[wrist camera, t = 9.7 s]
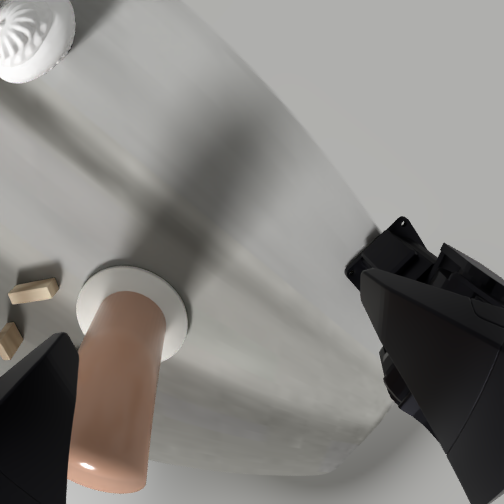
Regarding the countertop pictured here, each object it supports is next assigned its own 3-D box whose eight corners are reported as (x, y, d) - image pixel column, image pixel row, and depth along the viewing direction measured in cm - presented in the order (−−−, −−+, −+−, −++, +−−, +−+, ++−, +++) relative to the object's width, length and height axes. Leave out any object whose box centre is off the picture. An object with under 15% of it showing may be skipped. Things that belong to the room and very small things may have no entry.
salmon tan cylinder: (180, 321, 24) (168, 477, 12) (140, 359, 25) (114, 500, 13) (122, 276, 22) (59, 424, 10) (86, 321, 23) (27, 456, 11)
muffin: (6, 70, 15) (-55, 64, 8) (48, -4, 13) (-1, -33, 7) (63, 99, 17) (5, 96, 10) (110, 19, 15) (70, -16, 9)
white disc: (211, 316, 24) (212, 321, 24) (145, 375, 26) (144, 380, 26) (118, 241, 21) (115, 244, 21) (61, 316, 23) (58, 320, 22)
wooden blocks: (54, 277, 22) (38, 297, 19) (95, 365, 25) (87, 388, 22) (-9, 289, 21) (-26, 307, 18) (32, 368, 25) (22, 388, 22)
